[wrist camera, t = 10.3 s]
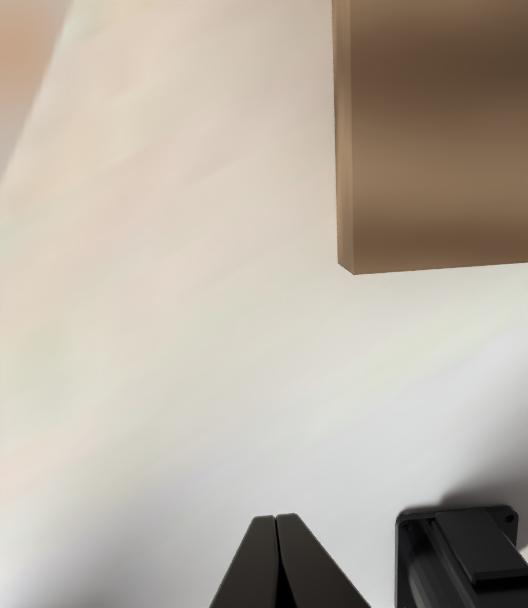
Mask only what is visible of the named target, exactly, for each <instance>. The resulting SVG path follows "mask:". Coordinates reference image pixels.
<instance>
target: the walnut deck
mask: <svg viewBox="0 0 528 608" xmlns="http://www.w3.org/2000/svg"><path fill="white" fill-rule="evenodd" d="M332 19H333V64H334V108H335V153H336V198H337V243H338V264H340V265H341V266H342V267H344V268H345V269H347V270H348V271H349V272H351V273H352V274H353V275H359V274H373V273H387V272H401V271H415V270H429V269H443V268H457V267H471V266H485V265H499V264H513V263H528V0H332Z"/></svg>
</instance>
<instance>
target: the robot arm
mask: <svg viewBox="0 0 528 608" xmlns="http://www.w3.org/2000/svg"><path fill="white" fill-rule="evenodd" d="M507 515H508V516H507ZM506 516H507V517H506ZM405 524H408V525H407V526H404V525H405ZM517 529H518V514H517V513H516V512H515V510H514V509H513V508H512V507H510V506H494V507H483V508H472V509H461V510H449V511H438V512H427V513H416V514H405V515H401V516H400V517H398V518H397V520H396V523H395V608H405V607H406V608H528V563H527V562H526V561H525V559H524V558H523V557H522V555H521V554H520V553H519V552H518V550H517V549H516V540H517ZM209 608H371V606H370V605H369V604H368V603H367V601H366V600H365V599H364V598H363V596H362V595H361V594H360V593H359V591H358V590H357V589H356V587H355V586H354V585H353V584H352V582H351V581H350V580H349V579H348V577H347V576H346V575H345V574H344V572H343V571H342V570H341V569H340V567H339V566H338V565H337V564H336V562H335V561H334V560H333V559H332V557H331V556H330V555H329V554H328V552H327V551H326V550H325V549H324V547H323V546H322V545H321V543H320V542H319V541H318V540H317V538H316V537H315V536H314V535H313V533H312V532H311V531H310V530H309V528H308V527H307V526H306V525H305V523H304V522H303V521H302V520H301V518H300V517H299V516H298V515H297V514H295V513H290V514H279V515H277V516H276V521H275V517H274V516H273V515H268V516H257V517H254V518H253V520H252V521H251V523H250V525H249V527H248V529H247V532H246V534H245V536H244V538H243V540H242V542H241V544H240V546H239V548H238V550H237V552H236V554H235V556H234V558H233V560H232V562H231V564H230V566H229V568H228V570H227V572H226V574H225V576H224V578H223V580H222V582H221V584H220V586H219V588H218V590H217V592H216V594H215V597H214V599H213V601H212V603H211V605H210V607H209Z"/></svg>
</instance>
